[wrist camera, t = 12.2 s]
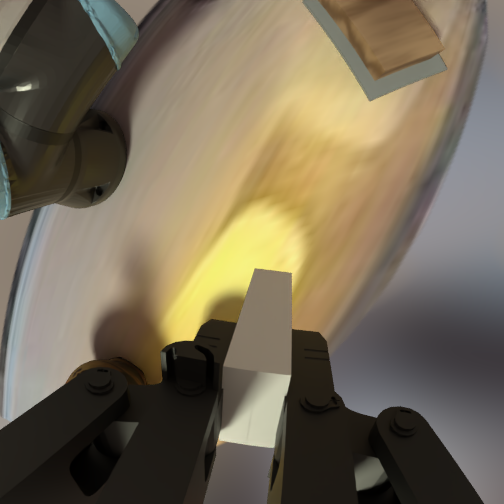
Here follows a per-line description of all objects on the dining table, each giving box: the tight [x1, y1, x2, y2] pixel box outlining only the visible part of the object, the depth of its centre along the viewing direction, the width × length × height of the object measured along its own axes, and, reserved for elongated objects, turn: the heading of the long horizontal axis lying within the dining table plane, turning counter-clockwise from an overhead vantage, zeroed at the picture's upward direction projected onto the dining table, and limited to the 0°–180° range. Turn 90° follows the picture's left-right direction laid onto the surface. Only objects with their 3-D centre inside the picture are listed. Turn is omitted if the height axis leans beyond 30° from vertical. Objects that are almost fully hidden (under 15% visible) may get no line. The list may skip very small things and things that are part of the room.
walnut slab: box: [318, 0, 445, 81], centre depth 28 cm, size 5×10×16 cm
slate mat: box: [303, 0, 447, 101], centre depth 31 cm, size 17×14×1 cm
